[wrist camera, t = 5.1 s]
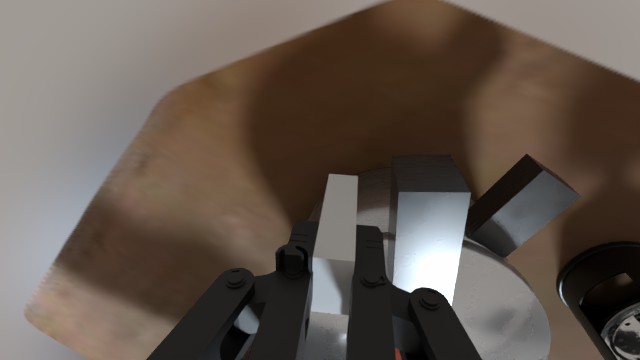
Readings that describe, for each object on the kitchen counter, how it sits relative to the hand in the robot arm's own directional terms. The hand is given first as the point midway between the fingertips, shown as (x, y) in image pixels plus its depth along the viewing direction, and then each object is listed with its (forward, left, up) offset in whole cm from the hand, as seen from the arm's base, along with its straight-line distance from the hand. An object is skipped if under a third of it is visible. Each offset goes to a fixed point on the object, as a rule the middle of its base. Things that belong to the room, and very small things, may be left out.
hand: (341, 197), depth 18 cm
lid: (+1, -11, -2) cm, 11 cm away
